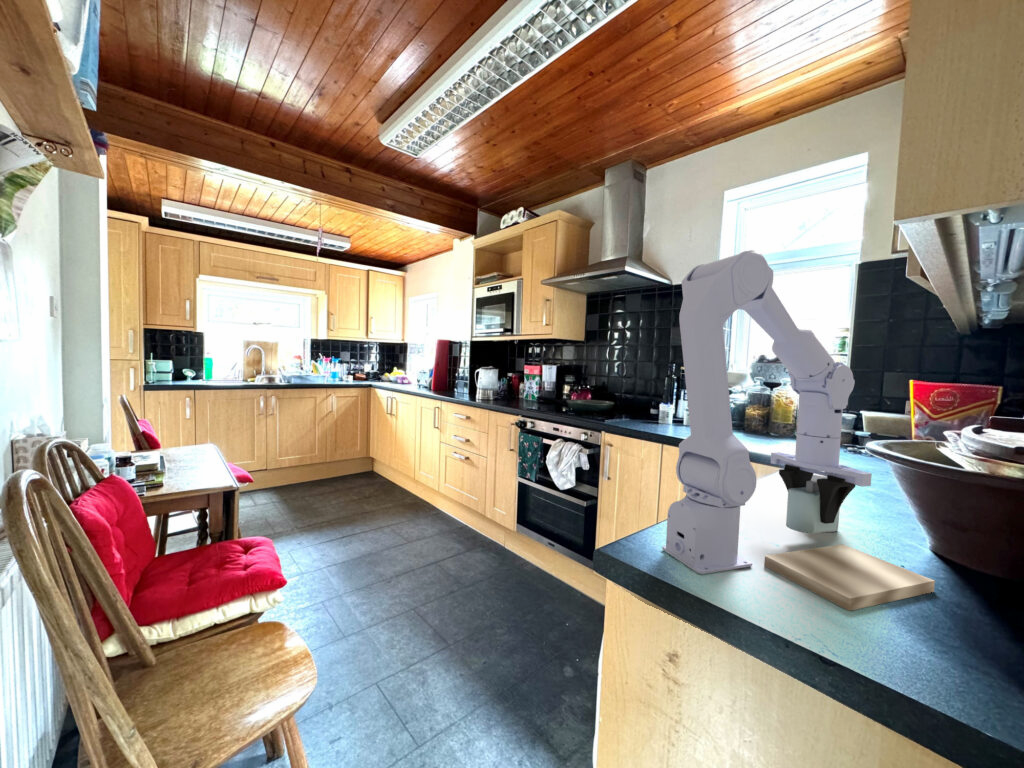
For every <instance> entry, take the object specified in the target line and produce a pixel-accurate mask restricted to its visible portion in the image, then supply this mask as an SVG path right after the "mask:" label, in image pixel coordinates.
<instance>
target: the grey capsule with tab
mask: <svg viewBox="0 0 1024 768" xmlns="http://www.w3.org/2000/svg"><path fill="white" fill-rule="evenodd" d="M786 503H787V505H786V517H785V518H786V521H785V526H786V528H788V529H790V530H792V531H795V532H799V533H804V534H818V533H825V532H827V531H834V532H836V531H835V530H837V531H839V522H840V521H839V520H840V510H841V509H840V508H841V507H840V508H839V510H838V513H837V515H836V518H835V520H834V523H828V524H824V523H822V522H821V520H820V504H821V501H820V492H819V488H818V484H817V480H813V481H807V483H806V487H801V488H790V489H788V491H787V502H786Z"/></svg>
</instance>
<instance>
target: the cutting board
mask: <svg viewBox="0 0 1024 768" xmlns="http://www.w3.org/2000/svg"><path fill="white" fill-rule="evenodd" d="M763 564H764V567H765V568H768V569H770V570H772V571H773V572H775V573H777V574H779V575H781V576H783V577H784V578H786V579H789V580H790V581H792V582H793V583H796V584H797V585H800V586H801V587H804V589H807V590H809V591H811V592H813V593H814V594H817V596H820V597H822V598H824V599H826V600H827V601H829V602H831V603H833V604H835V605H837V606H839V607H841V608H843V609H844V610H846V611H848V612H849V611H850V612H851V611H855V610H860V609H864V608H868V607H874V606H877V605H878V606H879V605H881V604H886V603H890V602H895V601H899V600H904V599H909V598H913V597H917V596H923V595H927V594H931V592H932V593H934V592H935V586H936V585H935V584H936V580H934V579H932V578H929V577H926V576H924V575H921V574H919V573H916V572H914V571H911V570H909V569H906V568H904V567H901V566H898V565H896V564H894V563H891V562H889V561H886V560H884V559H881V558H879V557H876V556H873V555H871V554H869V553H866V552H863V551H862V550H861V551H860V550H859V549H857V548H853V547H851V546H848V545H845V544H843V543H840V544H835V545H828V546H827V545H826V546H820V547H814V548H808V549H801V550H794V551H789V552H788V551H787V552H786V551H785V552H779V553H774V554H768V555H767V554H766V555H764V563H763ZM926 593H927V594H926ZM922 594H923V595H922Z"/></svg>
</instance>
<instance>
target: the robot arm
mask: <svg viewBox="0 0 1024 768" xmlns="http://www.w3.org/2000/svg"><path fill="white" fill-rule="evenodd" d="M773 284H774V270H773V269H772V267H771V266H769V264H768V261H767V260H766V258H765V257H764V255H763V254H762V253H760V252H759V251H757V250H755V249H754V250H753V249H747V250H743V251H741V252H739V253H738V254H734V255H731V256H728V257H724V258H722V259H718V260H715V261H711V262H708V263H705V264H699V265H696V266H694V267H693V268H692V269H691V270H690V271H689V272H688V273H687V274H686V275H685V277H684V278H683V279H682V280H681V289H682V298H683V299H682V301H681V306H680V307H681V308H680V312H679V314H678V315H679V317H678V318H679V319H678V320H679V330H680V339H681V350H682V360H683V369H684V370H683V371H684V380H685V381H684V382H685V388H686V398H687V409H688V418H689V421H688V422H689V429H690V435H688V436H687V437H686V438H685V439H683V440H682V441H681V442H680V443H679V444H678V458H677V462H676V465H675V471H676V472H675V473H676V477H677V479H678V481H679V483H681V484H682V485H683V489H682V491H683V493H685V496H684V497H683V498H682V499H679V500H677V501H673V502H672V503H671V504H670V506H669V508H668V510H667V516H666V517H667V519H666V521H667V522H666V536H665V537H666V539H665V545H662V546H661V548H662V550H663V551H664V552H666V553H667V554H669V555H670V556H672V557H673V558H675V559H676V560H678V561H679V562H681V563H682V564H684V565H686V566H687V567H688V568H690V569H691V570H692V571H695V573H697V574H699V575H705V574H711V573H717V572H724V571H730V570H738V569H743V568H749V567H750V568H751V567H752V566H753V562H752V561H750V560H748V559H746V558H744V557H743V556H741V555H739V539H740V537H739V535H740V522H741V521H740V520H741V507H743V506H746V503H747V502H748V501H749V500H750V499H751V498H752V497H753V495H754V493H755V491H756V488H757V474H756V471H755V469H754V467H753V465H752V463H751V460H750V453H749V452H750V451H749V450H748V449H747V447H746V446H745V445H744V443H742V442H741V441H740V440H739V439H738V437H736V435H735V434H734V433H733V432H734V431H733V421H732V419H733V418H732V411H731V410H732V409H731V399H730V387H729V377H728V366H727V364H728V363H727V353H726V344H725V332H724V325H725V323H726V322H727V321H728V320H729V318H730V317H731V316H732V315H733V314H734V312H736V311H737V310H743V311H744V312H746V314H747V315H748V316H749V317H751V319H752V320H753V321H755V323H756V324H758V326H759V327H760V328H761V329H763V332H765V333H766V334H767V335H768V336H769V337H770V338H771V339H772V340H773V343H772V347H771V349H772V352H773V353H774V355H775V357H776V358H777V359H778V360H779V362H780V363H782V365H783V366H784V367H785V369H786V370H787V373H788V376H789V378H790V386H791V389H792V390H793V391H794V392H795V393H796V394H797V395H799V396H798V409H797V410H798V411H797V422H796V423H797V425H796V426H797V427H796V439H795V441H796V442H795V451H794V454H795V455H794V454H789V453H784V452H778V451H777V452H771V453H770V464H772V465H779V466H784V467H783V468H781V469H779V470H778V475H779V476H780V478H781V479H782V481H783V483H784V485H785V488H786V491H787V492H788V489H790V488H801V487H806V483H807V481H811V479H812V476H813V474H814V473H815V474H819V475H823V476H826V477H827V479H826V478H823V479H817V484H818V488H819V492H820V501H821V504H820V520H821V522H822V523H824V524H828V523H834V520H835V518H836V515H837V513H838V510H839V508H841V506H842V505H843V503H844V501H845V499H847V496H849V494H850V493H851V492H852V491H853V490H854V489H855V488H856V486H858V487H871V485H872V472H868V471H865V470H861V469H858V468H857V469H856V468H853V467H851V466H847V465H844V464H841V463H840V455H841V453H840V452H841V441H842V439H841V438H842V428H843V427H842V424H843V412H844V409H847V406H848V405H849V397H850V395H851V393H852V392H853V390H854V387H855V381H856V380H855V379H854V374H853V372H852V369H851V368H850V367H849V366H848V365H846V364H845V363H843V362H839V361H835V359H834V358H833V357H832V356H831V355H830V353H829V352H828V350H826V348H825V347H824V346H823V345H822V343H821V342H820V341H819V339H818V338H817V337H816V335H815V333H814V332H813V331H812V330H811V329H809V328H806V327H797V324H796V323H795V322H794V319H792V317H791V316H790V314H789V312H788V310H787V309H786V307H785V305H784V303H782V301H781V299H780V298H779V296H778V295H777V293H776V291H775V290H774V288H773ZM839 511H840V510H839Z"/></svg>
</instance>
